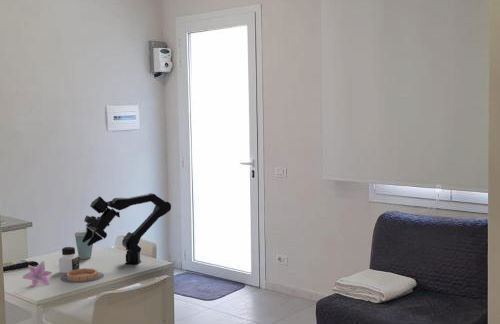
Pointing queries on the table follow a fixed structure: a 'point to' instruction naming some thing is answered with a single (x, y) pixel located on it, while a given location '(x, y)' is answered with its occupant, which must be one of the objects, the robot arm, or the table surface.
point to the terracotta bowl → (82, 274)
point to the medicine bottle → (68, 260)
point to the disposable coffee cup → (83, 245)
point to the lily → (37, 274)
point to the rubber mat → (64, 279)
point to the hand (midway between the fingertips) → (85, 243)
